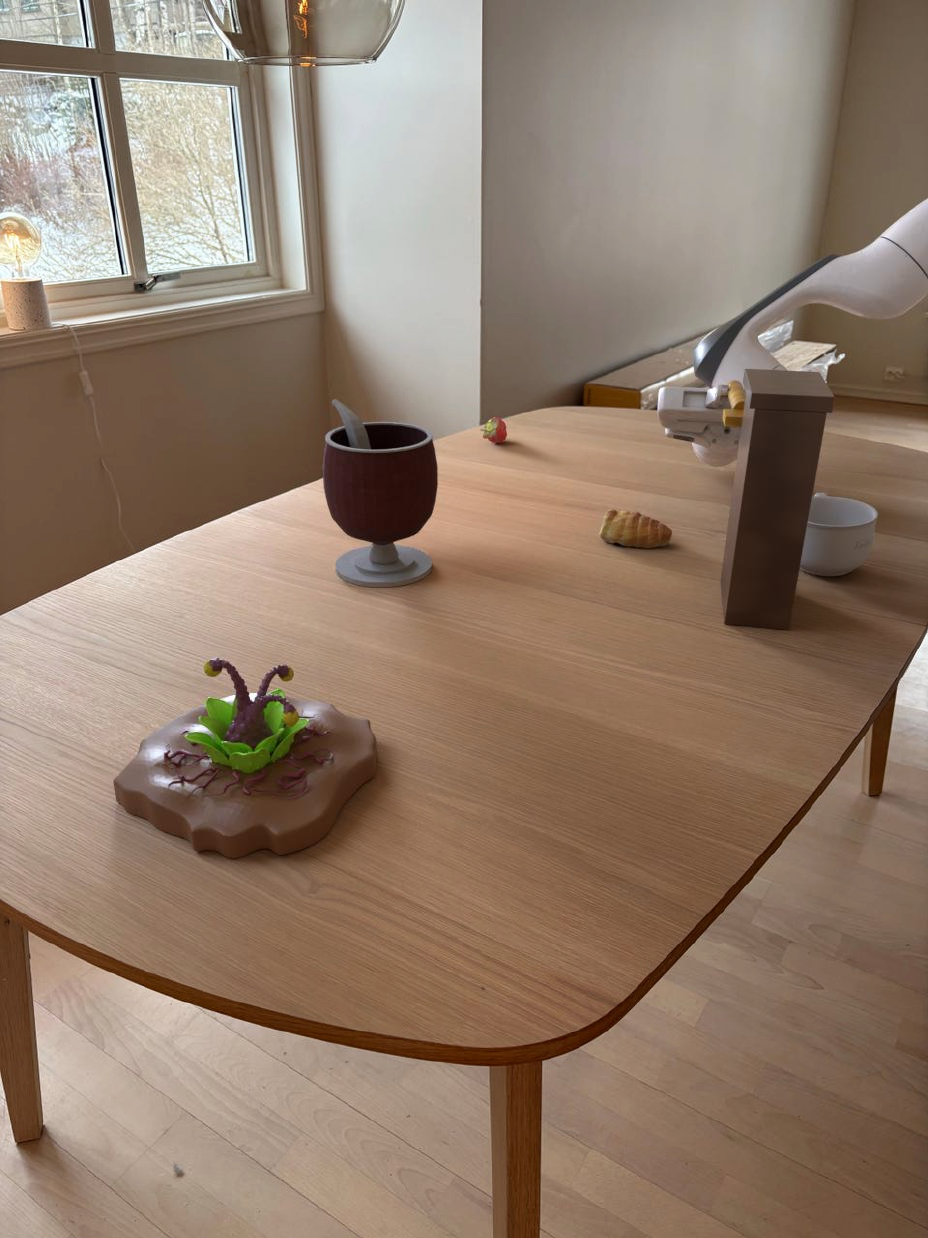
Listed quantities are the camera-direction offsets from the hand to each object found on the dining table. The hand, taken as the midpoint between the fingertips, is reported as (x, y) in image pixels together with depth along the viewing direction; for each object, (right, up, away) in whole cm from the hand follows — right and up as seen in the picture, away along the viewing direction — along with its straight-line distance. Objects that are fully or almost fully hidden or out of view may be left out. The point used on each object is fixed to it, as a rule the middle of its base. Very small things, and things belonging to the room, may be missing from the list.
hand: (736, 390), depth 126 cm
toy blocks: (-1, -4, -6) cm, 7 cm away
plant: (-54, -44, -45) cm, 83 cm away
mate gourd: (-47, -24, -4) cm, 53 cm away
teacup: (+10, -23, -3) cm, 25 cm away
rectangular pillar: (-2, -28, -14) cm, 32 cm away
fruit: (-30, +2, +47) cm, 56 cm away
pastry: (-13, -19, +4) cm, 24 cm away
